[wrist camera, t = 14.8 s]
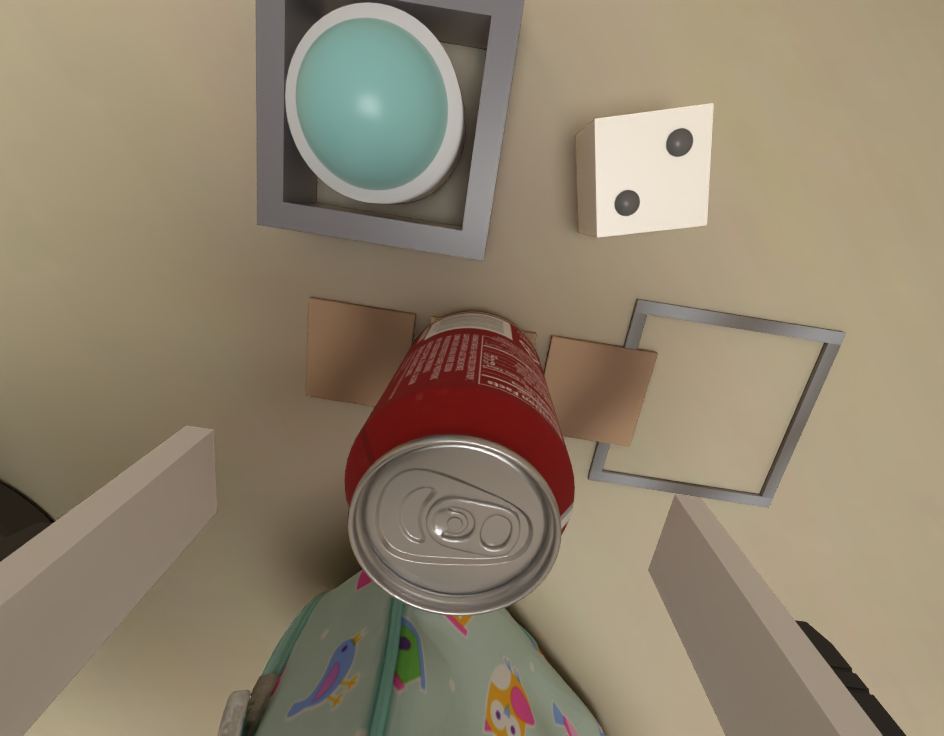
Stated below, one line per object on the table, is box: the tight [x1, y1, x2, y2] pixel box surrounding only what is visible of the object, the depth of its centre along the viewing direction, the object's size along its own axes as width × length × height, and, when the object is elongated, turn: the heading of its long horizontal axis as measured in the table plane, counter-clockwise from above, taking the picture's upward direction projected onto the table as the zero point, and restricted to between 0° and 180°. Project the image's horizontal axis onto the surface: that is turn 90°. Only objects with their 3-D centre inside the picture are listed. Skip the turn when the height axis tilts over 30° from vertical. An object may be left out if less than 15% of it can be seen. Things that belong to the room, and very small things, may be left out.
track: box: [306, 297, 846, 508], centre depth 23 cm, size 26×10×1 cm, turn 81°
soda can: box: [345, 312, 575, 616], centre depth 17 cm, size 7×7×12 cm
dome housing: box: [256, 0, 524, 261], centre depth 18 cm, size 9×9×4 cm
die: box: [575, 103, 714, 237], centre depth 18 cm, size 4×4×4 cm
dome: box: [285, 2, 466, 204], centre depth 16 cm, size 6×6×5 cm
